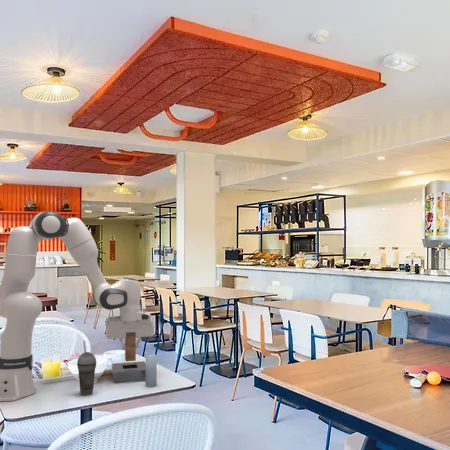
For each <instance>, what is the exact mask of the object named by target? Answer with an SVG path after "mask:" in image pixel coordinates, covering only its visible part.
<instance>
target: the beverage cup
mask: <svg viewBox="0 0 450 450" xmlns="http://www.w3.org/2000/svg"><path fill="white" fill-rule="evenodd" d="M86 348H87V347H86V341H85V340H83V349H84V352H82V353H81V354H80V355H79V356H78V358H77V363H76V365H77V370H78V381H79V392H80V396H91V395H93V393H94V386H95V385H94V384H95V373H96V368H97V358H96V356H95V355H94V354H93V353H92V352H89V351H88V352H87V351H86Z"/></svg>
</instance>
